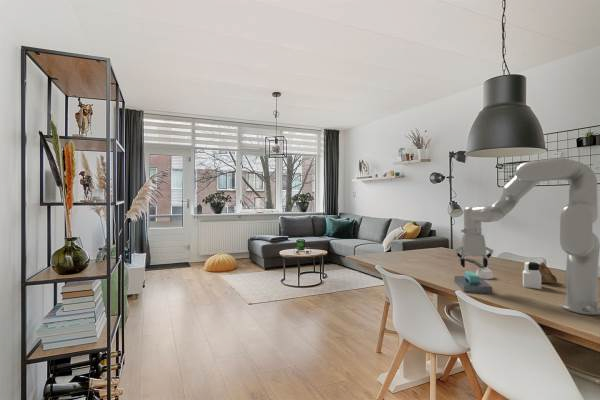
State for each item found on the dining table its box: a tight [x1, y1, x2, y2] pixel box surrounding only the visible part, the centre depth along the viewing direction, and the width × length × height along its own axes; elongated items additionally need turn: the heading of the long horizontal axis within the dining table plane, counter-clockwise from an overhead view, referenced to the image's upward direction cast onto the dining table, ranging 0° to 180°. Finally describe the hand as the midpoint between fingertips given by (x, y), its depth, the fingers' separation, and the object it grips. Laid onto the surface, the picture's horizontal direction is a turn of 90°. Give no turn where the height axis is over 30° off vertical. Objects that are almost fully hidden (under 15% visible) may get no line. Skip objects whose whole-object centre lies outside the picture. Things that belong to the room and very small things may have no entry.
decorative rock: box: [538, 261, 558, 284], centre depth 174 cm, size 12×6×11 cm, turn 84°
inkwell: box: [457, 257, 495, 280], centre depth 186 cm, size 9×18×10 cm, turn 71°
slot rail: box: [454, 275, 493, 294], centre depth 164 cm, size 12×20×3 cm, turn 167°
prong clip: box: [463, 270, 479, 284], centre depth 164 cm, size 4×11×6 cm, turn 166°
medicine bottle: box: [522, 261, 542, 290], centre depth 165 cm, size 7×7×12 cm
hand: (474, 266), depth 163 cm, fingers open, 9 cm apart
